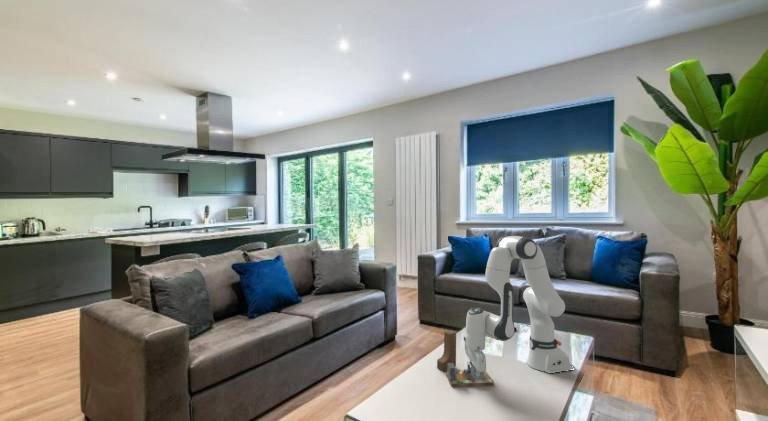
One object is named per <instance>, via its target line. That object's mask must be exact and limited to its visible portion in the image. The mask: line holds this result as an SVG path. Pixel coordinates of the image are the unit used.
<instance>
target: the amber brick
mask: <svg viewBox="0 0 768 421" xmlns="http://www.w3.org/2000/svg"><path fill="white" fill-rule="evenodd" d="M462 372H463V371H459V381H460V382H462Z"/></svg>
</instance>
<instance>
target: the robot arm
mask: <svg viewBox="0 0 768 421" xmlns="http://www.w3.org/2000/svg"><path fill="white" fill-rule="evenodd" d="M514 259H519V260H521V264H522V269H523V273H524V277H525V280H526V283H527V284H528V285H529V287H526V288H525V290H523V294H522V298H523V301H524V302H525V304H526V306H527V310H528V315H529V319H530V335H529V343H528V344H529V351H528V356H527V360H526V364H527V366H529V367H531V368H532V369H534V370H537V371H541V372H544V371H545V373H547V372H548V374H549V373H554V374H556V373H555V372H560V373H562V372H561V371H566V370H570V369H573V368H575V366H574V364H573V363H572V362H570V357H569V355H568V354H567V353H566V352H565V351H564V350H563V349H561V348H560V347H561V346H562V341H560V340H557V339H556V338H555V323H554V321H553V320H552V318H551V317H555V318H557V317H561V315H563V314H564V312H565V310H566V304H565V301H564V300H563V299H562V297H560V295H559V293H558V292H557V290H556V288H555V286H554V283H553V282H552V280H551V277H550V275H549V271H548V267H547V263H546V262H547V261H546V259H545V255H544V253H543V250H542V249H541V246H540V245H538V244H537V243H536V242H535V240H533V239H532V238H530V237H527V236H520V235H519V236H518V235H511V236H510V235H505V236H501V237H500V238H498V240H497V242H496V244H495V247H493V248H492V249H491V250H490V253H489V256H488V260H487V262H486V268H485V274H484V275H485V277H484V278H485V281H486V283H487V284H488V285H489V286H490V287H491V288H492V289H493V290H494V291H496V292H497V294H498V295H499V297H500V315H496V314H495V313H493V312H490V311H485V310H484V308H481V307H471V308H469V310H468V311H467V313H466V318H465V319H466V320H465V329H466V334H465V335H464V336H463V342H464V350H465V351H464V352H465V355H466V356H467V357H468V359H469V362H472V363H473V365H474V366H475V368H476V371H475V375H476V376H480V372H487V359H486V358H487V357H486V354H485V353H484V352H483V351H484V350H485V349H486V336H485V334H486V333H487V334H490V335H492V336H494V337H496V338H498V339H497V340H499V341H501V342H506V341H508V340H510V339H512V338H513V336H514V334H515V331H514V330H515V329H514V327H515V323H514V306H515V305H514V303H515V299H514V298H515V297H514V296H515V294H514V292H515V291H514V286H513V285H512V283H511V279H510V278H511V277H510V274H511V266H512V265H511V264H512V262H513V260H514ZM572 366H573V367H572Z"/></svg>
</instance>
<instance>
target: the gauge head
mask: <svg viewBox="0 0 768 421" xmlns="http://www.w3.org/2000/svg"><path fill="white" fill-rule="evenodd" d="M475 371H476V368H475V366H474V365H473V363H472V362H470V361H468V362H467V368H465V369H463V372H464V374H465V373H467V375H468V376H469V378H470V380H471V381H472V382H475V380H483V372H480V376H476V375H475Z"/></svg>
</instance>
